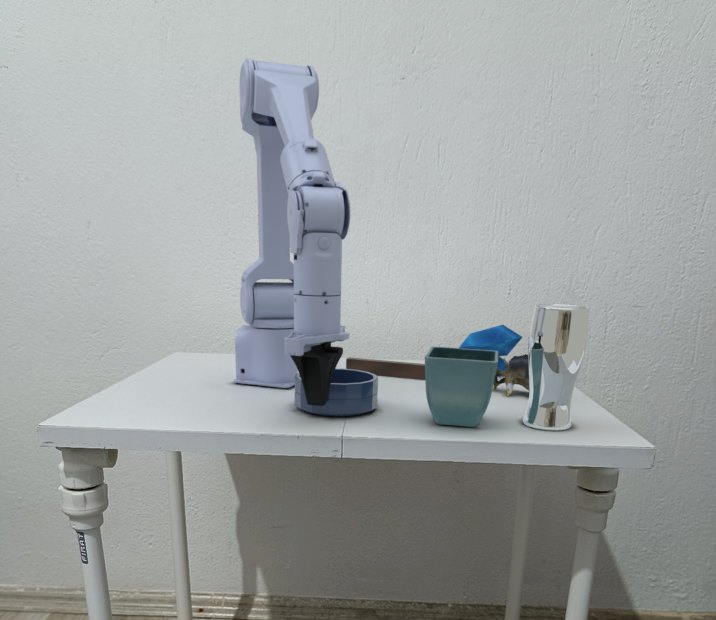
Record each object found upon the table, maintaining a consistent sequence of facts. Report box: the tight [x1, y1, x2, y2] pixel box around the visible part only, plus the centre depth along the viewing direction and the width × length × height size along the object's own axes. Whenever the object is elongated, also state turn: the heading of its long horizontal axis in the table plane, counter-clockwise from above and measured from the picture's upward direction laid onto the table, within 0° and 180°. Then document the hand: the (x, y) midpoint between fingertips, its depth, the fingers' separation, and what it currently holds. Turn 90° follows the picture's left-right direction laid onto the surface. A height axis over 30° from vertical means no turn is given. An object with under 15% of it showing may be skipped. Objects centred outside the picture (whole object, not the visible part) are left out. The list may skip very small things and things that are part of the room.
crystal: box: [458, 324, 523, 377], centre depth 118 cm, size 7×9×12 cm
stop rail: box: [345, 356, 426, 381], centre depth 115 cm, size 16×2×2 cm, turn 71°
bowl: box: [294, 367, 379, 417], centre depth 91 cm, size 11×11×4 cm
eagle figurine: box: [492, 353, 529, 397], centre depth 103 cm, size 8×7×9 cm
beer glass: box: [522, 303, 590, 431], centre depth 84 cm, size 7×7×15 cm
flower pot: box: [424, 346, 498, 428], centre depth 85 cm, size 9×9×9 cm
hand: (316, 404), depth 85 cm, fingers closed
